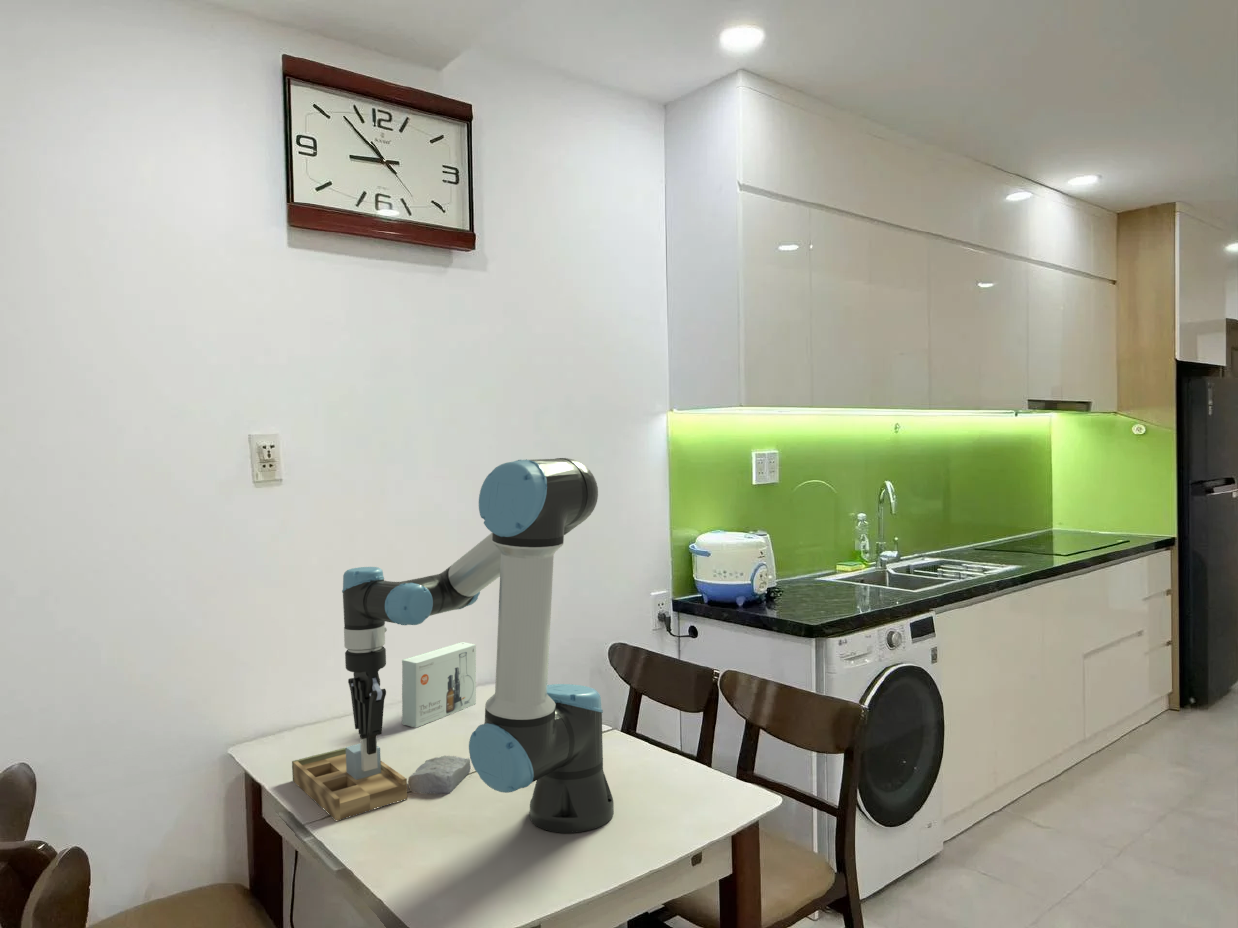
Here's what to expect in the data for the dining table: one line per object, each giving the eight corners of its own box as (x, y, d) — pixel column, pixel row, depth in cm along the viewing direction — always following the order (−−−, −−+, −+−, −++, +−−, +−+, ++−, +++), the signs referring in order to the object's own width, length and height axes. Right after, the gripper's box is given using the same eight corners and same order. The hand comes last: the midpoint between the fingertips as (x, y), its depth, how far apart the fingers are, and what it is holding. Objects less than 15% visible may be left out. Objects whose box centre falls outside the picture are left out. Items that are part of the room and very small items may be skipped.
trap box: (407, 799, 160) (406, 778, 160) (335, 821, 152) (335, 799, 151) (358, 762, 179) (358, 744, 179) (292, 780, 170) (292, 760, 170)
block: (380, 772, 166) (380, 747, 166) (356, 779, 163) (355, 754, 162) (370, 765, 170) (370, 740, 169) (346, 771, 166) (345, 746, 166)
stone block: (405, 802, 163) (453, 794, 162) (400, 777, 164) (448, 770, 162) (430, 779, 175) (475, 772, 173) (426, 756, 175) (470, 749, 174)
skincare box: (417, 729, 199) (415, 662, 199) (401, 725, 202) (399, 659, 202) (478, 704, 217) (476, 643, 216) (462, 701, 220) (461, 640, 219)
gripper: (397, 650, 160) (401, 773, 161) (370, 638, 170) (374, 754, 171) (359, 657, 155) (363, 783, 156) (334, 645, 166) (338, 764, 166)
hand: (369, 768), depth 164 cm, fingers closed
